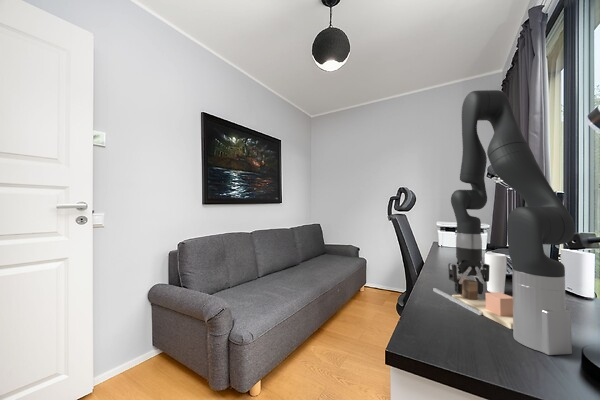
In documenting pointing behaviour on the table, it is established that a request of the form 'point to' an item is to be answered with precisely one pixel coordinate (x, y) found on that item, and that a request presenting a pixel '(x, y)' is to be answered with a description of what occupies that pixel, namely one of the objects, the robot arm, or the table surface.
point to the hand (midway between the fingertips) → (469, 293)
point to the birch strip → (480, 303)
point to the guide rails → (458, 302)
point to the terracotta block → (499, 304)
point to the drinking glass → (496, 272)
